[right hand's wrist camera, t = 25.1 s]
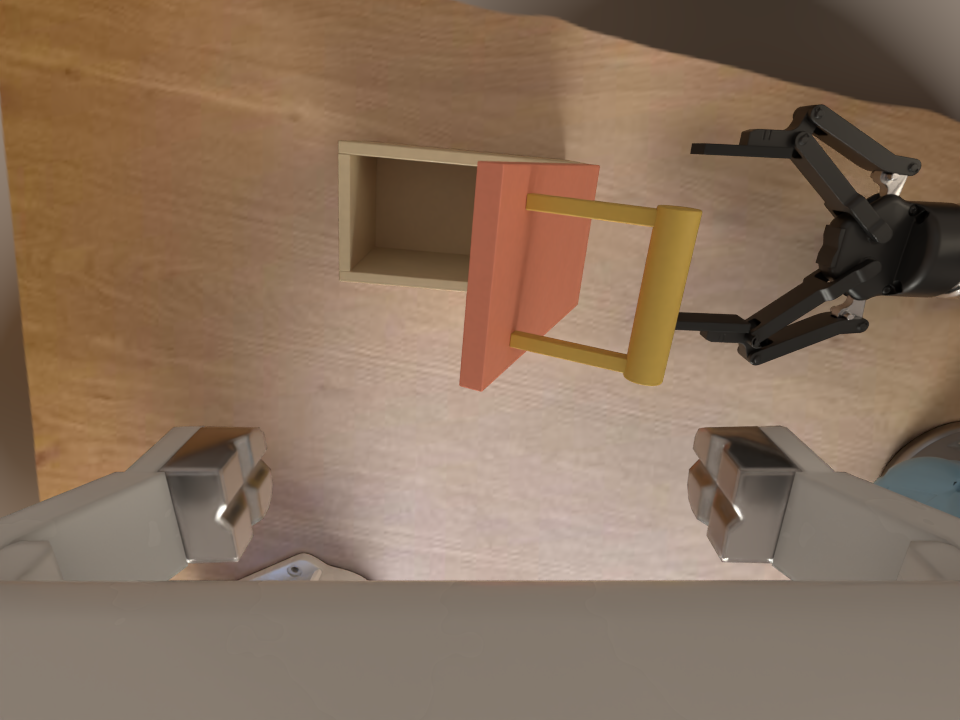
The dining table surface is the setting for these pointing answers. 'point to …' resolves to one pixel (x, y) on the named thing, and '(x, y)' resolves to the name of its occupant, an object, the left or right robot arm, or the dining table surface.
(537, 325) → the lid
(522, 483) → the dining table surface
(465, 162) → the chest
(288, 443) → the dining table surface
